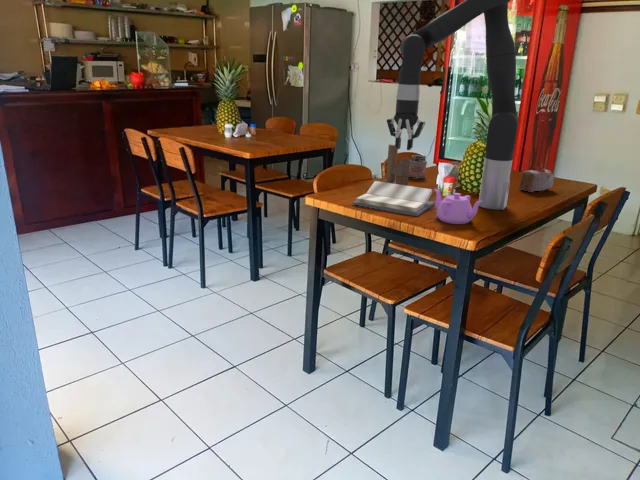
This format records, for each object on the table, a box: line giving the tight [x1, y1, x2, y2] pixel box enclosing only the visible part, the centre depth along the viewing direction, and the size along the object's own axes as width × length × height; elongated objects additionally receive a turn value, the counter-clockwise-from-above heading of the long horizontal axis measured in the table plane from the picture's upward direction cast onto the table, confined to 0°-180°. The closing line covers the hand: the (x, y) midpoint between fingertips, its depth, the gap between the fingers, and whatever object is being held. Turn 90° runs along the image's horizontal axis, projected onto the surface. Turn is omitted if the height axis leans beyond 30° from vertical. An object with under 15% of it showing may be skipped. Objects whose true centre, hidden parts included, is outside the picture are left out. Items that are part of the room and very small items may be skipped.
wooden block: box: [383, 143, 411, 186], centre depth 193 cm, size 4×11×18 cm, turn 29°
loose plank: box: [365, 180, 433, 206], centre depth 179 cm, size 22×8×2 cm, turn 61°
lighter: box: [408, 154, 428, 179], centre depth 221 cm, size 8×3×10 cm, turn 81°
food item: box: [518, 166, 555, 193], centre depth 205 cm, size 14×8×10 cm, turn 124°
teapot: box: [433, 188, 483, 225], centre depth 161 cm, size 12×14×9 cm
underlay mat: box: [352, 200, 436, 217], centre depth 177 cm, size 24×18×1 cm
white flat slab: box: [355, 193, 424, 212], centre depth 173 cm, size 22×8×2 cm, turn 61°
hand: (403, 149), depth 175 cm, fingers open, 3 cm apart
